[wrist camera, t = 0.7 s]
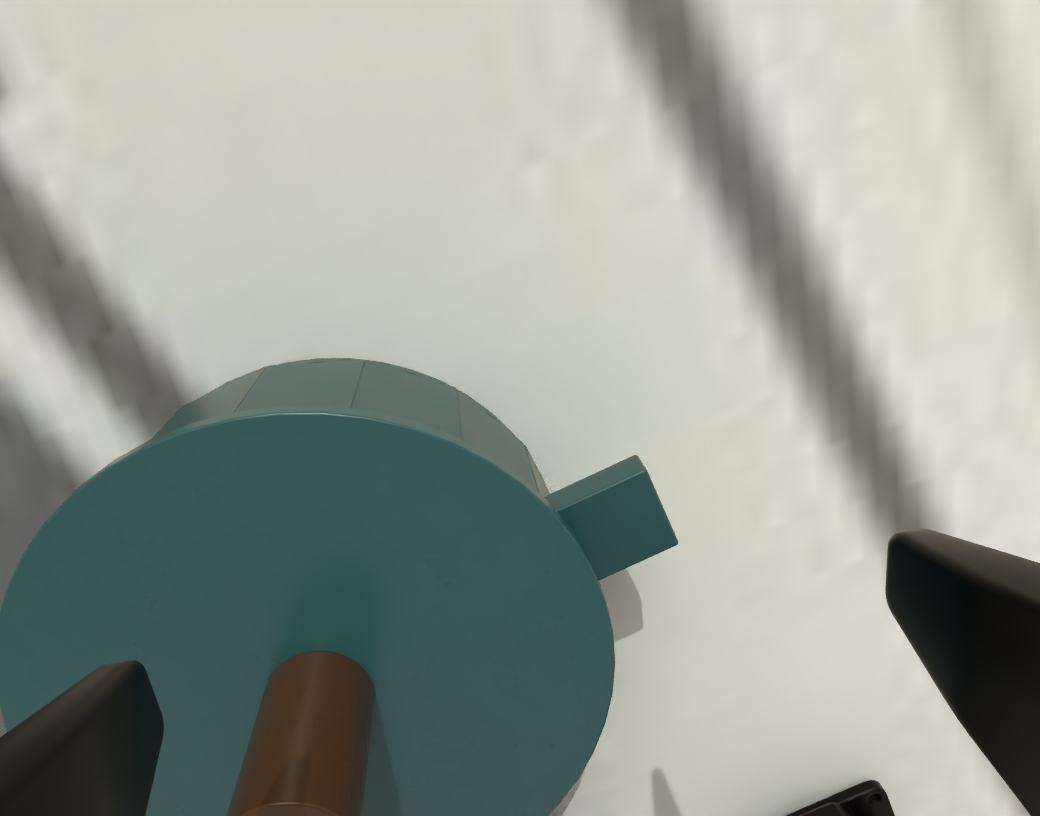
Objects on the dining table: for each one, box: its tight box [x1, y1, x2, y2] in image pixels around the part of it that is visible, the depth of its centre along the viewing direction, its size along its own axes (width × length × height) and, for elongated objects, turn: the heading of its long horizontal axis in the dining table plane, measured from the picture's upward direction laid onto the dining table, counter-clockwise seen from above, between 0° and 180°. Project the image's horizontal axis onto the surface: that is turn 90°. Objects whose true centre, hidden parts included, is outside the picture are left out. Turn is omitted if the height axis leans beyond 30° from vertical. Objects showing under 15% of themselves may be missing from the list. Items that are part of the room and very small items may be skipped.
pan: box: [152, 358, 678, 581], centre depth 21 cm, size 14×19×5 cm
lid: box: [0, 406, 615, 816], centre depth 17 cm, size 15×15×6 cm
